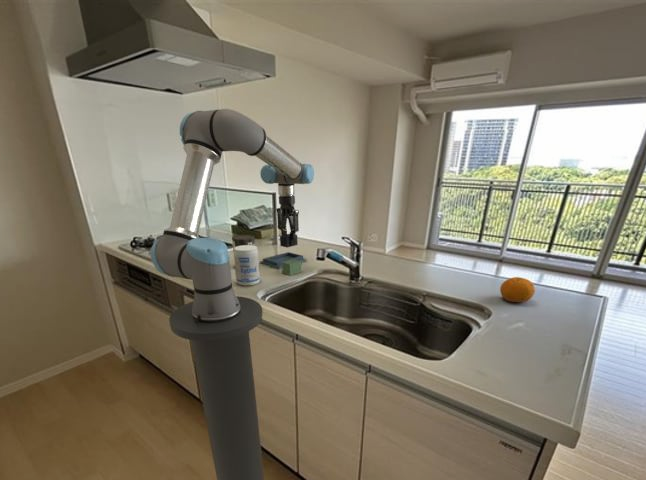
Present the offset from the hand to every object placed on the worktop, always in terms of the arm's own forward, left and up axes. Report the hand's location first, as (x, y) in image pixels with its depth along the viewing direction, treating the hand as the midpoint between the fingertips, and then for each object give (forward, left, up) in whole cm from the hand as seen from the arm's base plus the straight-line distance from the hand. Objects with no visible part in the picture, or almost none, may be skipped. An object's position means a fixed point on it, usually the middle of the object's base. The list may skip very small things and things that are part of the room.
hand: (288, 244), depth 166 cm
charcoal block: (0, 0, 0) cm, 0 cm away
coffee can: (-21, +8, -8) cm, 24 cm away
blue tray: (-4, 0, -8) cm, 9 cm away
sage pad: (-13, -16, -8) cm, 21 cm away
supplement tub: (-34, -12, -8) cm, 37 cm away
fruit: (+19, -98, -8) cm, 100 cm away
